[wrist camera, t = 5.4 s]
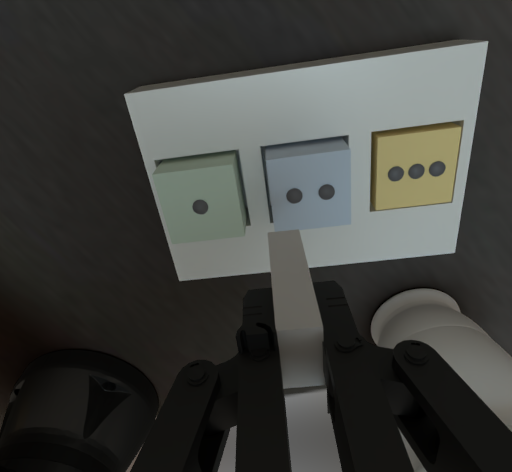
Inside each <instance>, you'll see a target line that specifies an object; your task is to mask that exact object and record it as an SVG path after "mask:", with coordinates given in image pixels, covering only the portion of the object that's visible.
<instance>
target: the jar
mask: <svg viewBox="0 0 512 472" xmlns="http://www.w3.org/2000/svg"><path fill="white" fill-rule="evenodd" d="M371 335H372V338H373V340H374V342H375V343H376V345H377V346H379V347H384V348H390V349H394V347H395V346H396V345H397V344H398V343H400V342H401V341H404V340H417V341H421V342H423V343H426V344H428V345H429V346H431V347H432V348H433V349H435V350H436V351H437V353H438V354H439V355H440V356H441V357H442V358H443V359H444V360H445V361H446V362H447V363H448V364H449V365H450V366H451V367H452V369H453V370H454V371H455V372H456V373H457V374H458V375H459V376H460V377H461V378H462V379H463V380H464V381H465V382H466V383H467V385H468V386H469V387H470V388H471V389H472V390H473V391H474V392H475V393H476V394H477V395H478V396H479V397H480V398H481V399H482V401H483V402H484V403H485V404H486V405H487V406H488V407H489V408H490V409H491V410H492V411H493V412H494V413H495V414H496V416H497V417H498V418H499V419H500V420H501V421H502V422H503V423H504V424H505V425H506V426H507V427H508V428H509V429H510V430H511V432H512V357H511V356H510V355H509V354H508V353H507V352H506V351H505V350H504V349H503V348H502V347H500V346H499V345H498V344H497V343H496V342H495V341H493V340H492V339H491V338H490V336H489V335H488V334H487V333H486V332H485V331H484V330H483V329H482V328H481V327H480V326H478V325H477V324H476V323H475V322H474V321H472V320H471V319H470V318H468V317H467V316H465V315H463V314H462V313H461V312H460V309H459V306H458V304H457V303H456V302H455V300H454V299H453V298H452V297H450V296H449V295H447V294H446V293H444V292H441V291H438V290H434V289H427V288H420V289H412V290H408V291H404V292H402V293H399V294H397V295H395V296H393V297H392V298H390V299H388V300H387V301H386V302H385V303H383V304H382V305H381V306H380V307H379V309H378V310H377V311H376V313H375V315H374V317H373V319H372V322H371ZM398 429H399V428H398ZM399 432H400V434H401V437H402V440H403V442H404V445H405V448H406V450H407V453H408V456H409V459H410V461H411V464H412V467H413V469H414V472H427V471H426V470H425V468H424V467H423V465H422V464H421V462H420V460H419V459H418V457H417V456H416V454H415V453H414V451H413V450H412V448H411V447H410V445H409V443H408V442H407V440H406V439H405V437H404V436H403V434H402V433H401V431H400V430H399Z"/></svg>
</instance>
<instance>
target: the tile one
mask: <svg viewBox="0 0 512 472" xmlns="http://www.w3.org/2000/svg"><path fill="white" fill-rule="evenodd" d="M152 177H153V180H154V184H155V187H156V191H157V194H158V198H159V201H160V204H161V208H162V211H163V215H164V218H165V222H166V225H167V229H168V232H169V235H170V239H171V242H172V244H179V243H188V242H197V241H206V240H215V239H224V238H233V237H242V236H245V230H246V218H247V215H246V209H245V203H244V197H243V191H242V185H241V179H240V173H239V167H238V161H237V155H236V150H231V151H223V152H215V153H208V154H200V155H192V156H185V157H177V158H169V159H163V160H162V162H161V163H160V164H159V166H158V167H157V168H156V170H155V171H154V172H153V174H152Z"/></svg>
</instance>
